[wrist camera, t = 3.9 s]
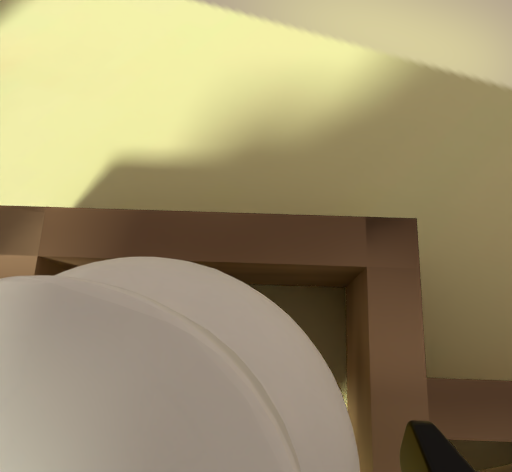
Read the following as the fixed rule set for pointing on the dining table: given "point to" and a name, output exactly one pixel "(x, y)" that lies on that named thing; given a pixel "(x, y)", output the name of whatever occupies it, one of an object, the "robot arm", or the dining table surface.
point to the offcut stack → (499, 469)
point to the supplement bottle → (161, 375)
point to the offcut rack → (293, 274)
